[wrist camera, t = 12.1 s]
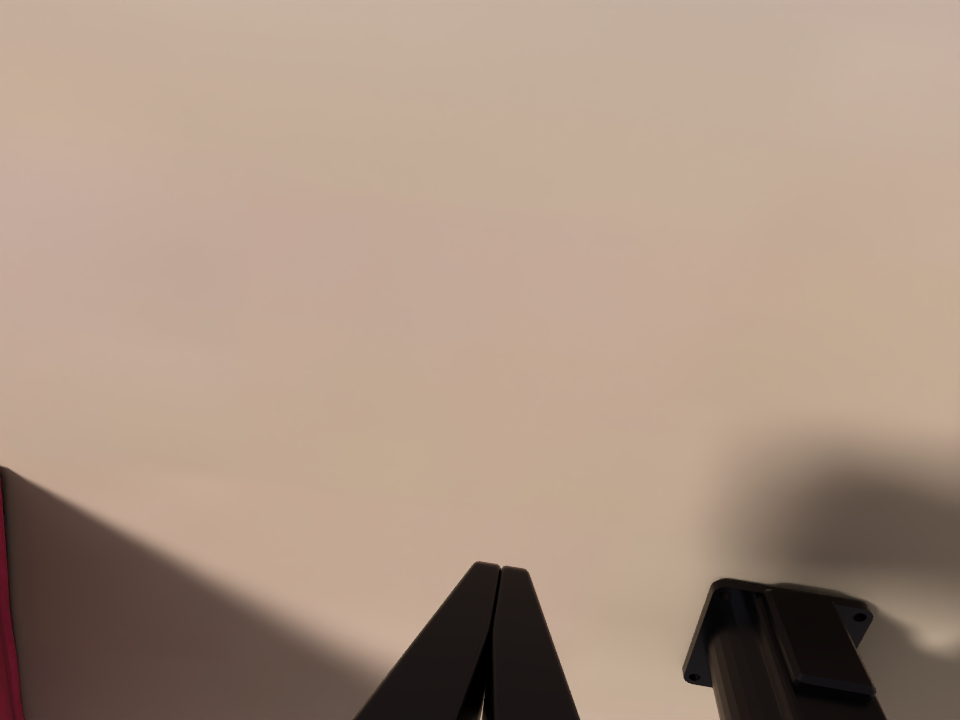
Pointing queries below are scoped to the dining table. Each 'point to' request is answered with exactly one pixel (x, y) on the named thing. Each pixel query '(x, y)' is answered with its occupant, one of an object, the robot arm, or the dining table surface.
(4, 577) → the storage bin
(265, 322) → the dining table surface
